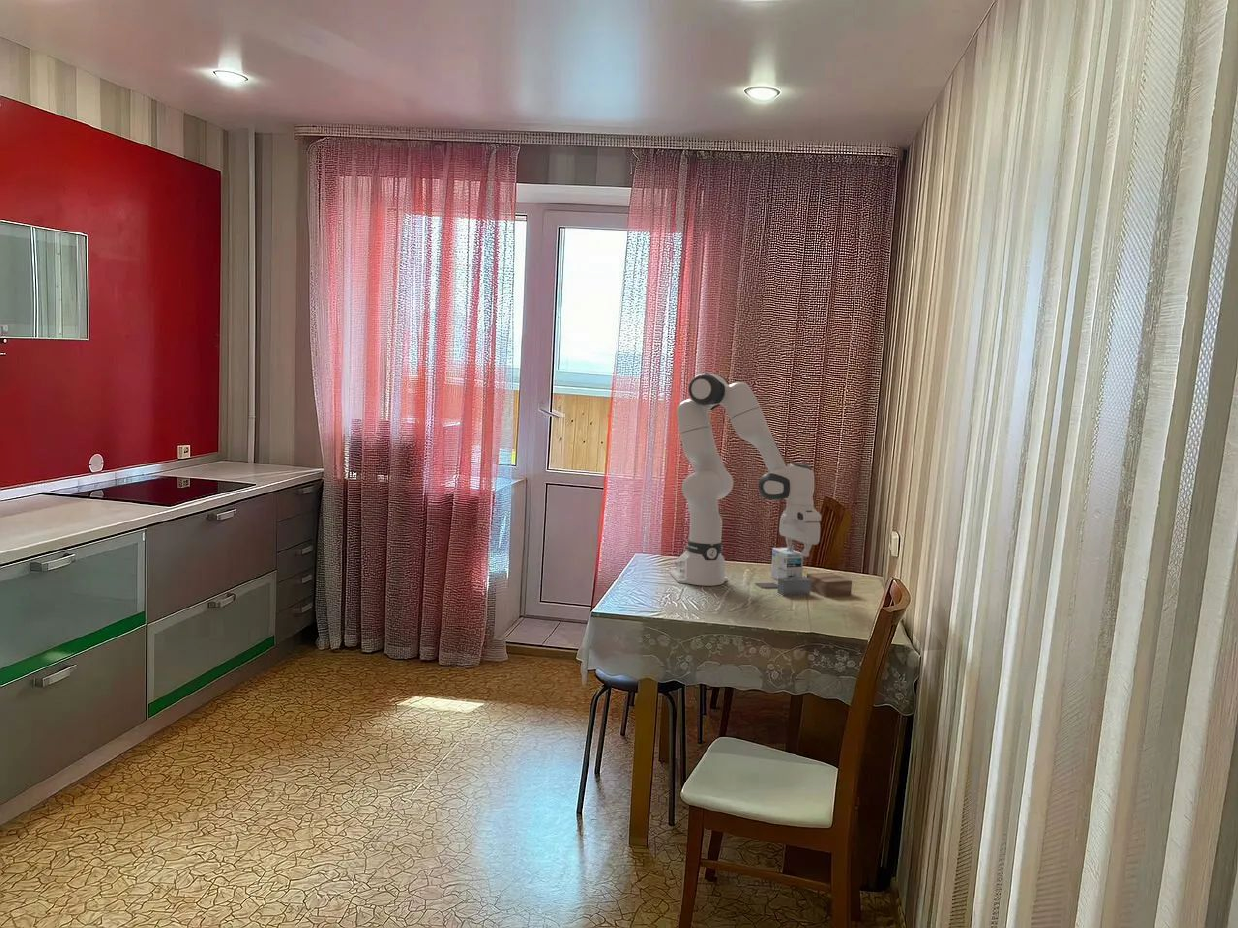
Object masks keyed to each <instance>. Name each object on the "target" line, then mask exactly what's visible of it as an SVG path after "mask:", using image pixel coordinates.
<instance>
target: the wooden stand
mask: <svg viewBox="0 0 1238 928" xmlns="http://www.w3.org/2000/svg"><path fill="white" fill-rule="evenodd" d="M806 578H809V579H811V586H810V592H813V591H814V592H813V593H816V594H818V595H820V596H822V597H824V598H829V597H849V596H850V597H851V596H852V588H853V581H852V580H851V579H849V578H846V577H843V576H841V575H839V574H836V573H833V572H821V573H820V572H819V573H807V574H806Z"/></svg>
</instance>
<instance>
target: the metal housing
mask: <svg viewBox="0 0 1238 928" xmlns="http://www.w3.org/2000/svg"><path fill="white" fill-rule="evenodd" d="M777 585H778V588H777V593H779V594H781V595H783V596H788V597H801V595H807V596H810V595H811V590H810V586H811V579H809V578H807V576H802V577H788V578H778V580H777ZM779 594H778V595H779ZM781 595H780V596H781ZM799 595H800V596H799ZM783 596H782V597H783Z"/></svg>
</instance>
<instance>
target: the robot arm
mask: <svg viewBox="0 0 1238 928" xmlns="http://www.w3.org/2000/svg"><path fill="white" fill-rule="evenodd" d="M687 389H688V395H689V397H690V398H688V399H687V398H686V399H684V400H682V401H681V402H680V403H679V404H678V405H677V408H676V419H677V426H678V432H679V436H680V441H681V445H682V449H683V450H682V451H683V455H684V456H685V459H687V460H688V461H689V463H690V465H691V467H692V468H693V470H694V472H692V473H690V474H689V475H687V476H686V477H685V478H684V479H683V481H682V484H681V493H682V495H683V497H684V499H686V502H687V508H688V513H689V534H688V535H689V536H688V539H687V542H686V547H685V551H684V552H683V553H682V554H681V555H680V556H679V557H677V559H676V560H675V562H674V563H675V564H674V565H675V566H674V567H675V568H676V569H675V568H674V569H670V571H669V574H670V575H671V577H673V579H674V580H675V581H677V583H680V584H690V585H695V586H696V585H697V586H705V587H706V586H719V585H722V584H724V583H726V582H728V581H729V580H728V579H729V577H727V576H726V567H725V566H726V563H725V562H726V561H725V556H723V554H722V552H723V542H722V534H723V533H722V532H723V531H722V530H723V519H722V517H721V514H720V513H719V507H718V500H722V499H724V498H725V497H727V496H728V495H729V494H730V493H731V492H732V490H733V488H734V479H733V476H732V474H731V473H730V472H729V471H728V470H727V469H726V466H725V465H724V462H723V461H722V458H721V456H720V454H719V451H718V449H717V446H716V442H715V438H714V433H713V429H712V424H711V422H710V421H711V420H710V411H713V410H714V409H716V408H718V407H719V406H721V407H723V408H724V410H725V411H726V413H727V416H728V418H729V420H730V423H731V425H732V428H733V430H734V431H735V433H736V434H737V436H738V437H739V439H742V440H744V441H746V442H748V443H750V444H751V445H753V447H755V448H756V449H757V450H758V452H759V453H760V455H761V457H762V460H763V462H764V464H765V466H766V468H767V469H768V472H767V473H765V474H763V475H762V476H761V477H760V478H759V481H758V484H757V486H758V487H757V489H758V492H759V494H760V496H761V497H762V498H764V499H765V500H769V501H773V502H774V501H779V500H785V501H786V504H785V506H786V507H785V509H784V510H783V511H782V514H781V515H780V519H779V529H778V531H779V535H780V536H782V537H784V538H785V542H786V548H787V550H788V551H794V550H795V545H794V543H793V540H794V541H797V542H800V543H803V546H804V548H803V550H801V553H802V556H803V558H804V557H809V556H810V550H811V549H812V546H815V545H818V544H819V543H820V540H821V523H820V522H821V521H822V514H821V513H819V511H818V510H816V508H815V507H814V506H815V505H814V504H815V503H814V497H813V496H814V492H815V473H814V469H813V467H812V466H811V465H809V464H806V463H803V462H795V461H794V462H790V463H789V464H788V463H786V460H785V459H784V457H783V455H782V452H781V450H780V449H779V446H778V444H777V443H776V440H775V438H774V436H773V435H772V432H771V429H770V427H769V425H768V423H767V420H766V416H765V415H764V412H763V410H762V407H761V405H760V402H759V401H758V398H757V397H756V394H755V393H754V391H753V390H752V388H751V387H750V386H749V385H748V383H746V382H743V381H738V382H733V383H731V384H730V383H729V381H728V379H726V378H725V377H724V376H722V375H719V374H716V373H709V372H707V373H705V372H704V373H699V374H697V375H695V376H694V377H692V378H691V380H690V382H689V384H688V388H687Z"/></svg>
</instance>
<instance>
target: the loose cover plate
mask: <svg viewBox="0 0 1238 928" xmlns="http://www.w3.org/2000/svg"><path fill="white" fill-rule="evenodd" d="M755 584H756V585H755ZM754 585H755V586H757V587H759V588H761V589H762V588H766V589H778V583H774V582H754Z"/></svg>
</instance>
